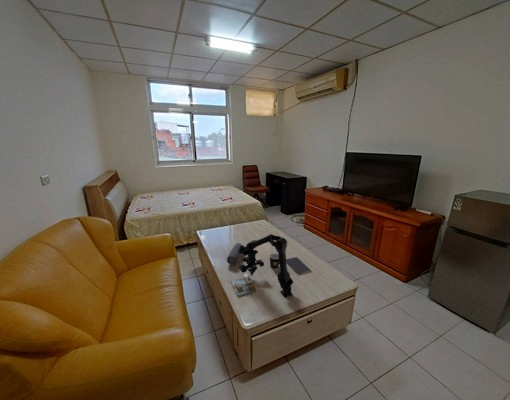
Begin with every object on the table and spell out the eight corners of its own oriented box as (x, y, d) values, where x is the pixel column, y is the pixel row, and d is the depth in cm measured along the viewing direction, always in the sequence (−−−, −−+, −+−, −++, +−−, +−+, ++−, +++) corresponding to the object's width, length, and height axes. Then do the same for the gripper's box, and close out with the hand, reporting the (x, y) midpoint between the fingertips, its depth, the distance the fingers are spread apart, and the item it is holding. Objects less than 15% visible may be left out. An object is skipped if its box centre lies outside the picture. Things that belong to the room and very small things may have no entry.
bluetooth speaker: (237, 266, 178) (236, 256, 175) (226, 265, 180) (225, 255, 177) (243, 252, 199) (243, 243, 197) (234, 251, 201) (234, 242, 198)
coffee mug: (267, 268, 176) (267, 257, 173) (271, 262, 184) (271, 252, 181) (281, 271, 172) (281, 260, 169) (284, 266, 179) (284, 255, 176)
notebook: (311, 272, 172) (296, 258, 191) (311, 270, 172) (296, 256, 191) (297, 275, 168) (284, 261, 187) (297, 273, 167) (284, 259, 186)
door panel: (256, 291, 150) (256, 286, 149) (237, 296, 145) (237, 292, 144) (248, 277, 164) (248, 273, 163) (230, 282, 159) (230, 278, 158)
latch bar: (252, 284, 155) (252, 280, 154) (248, 285, 154) (247, 281, 153) (247, 276, 164) (247, 272, 163) (243, 277, 163) (243, 273, 162)
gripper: (257, 249, 170) (257, 266, 174) (235, 255, 161) (236, 273, 166) (264, 256, 161) (264, 274, 165) (242, 262, 152) (242, 281, 157)
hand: (251, 275), depth 163 cm, fingers closed
